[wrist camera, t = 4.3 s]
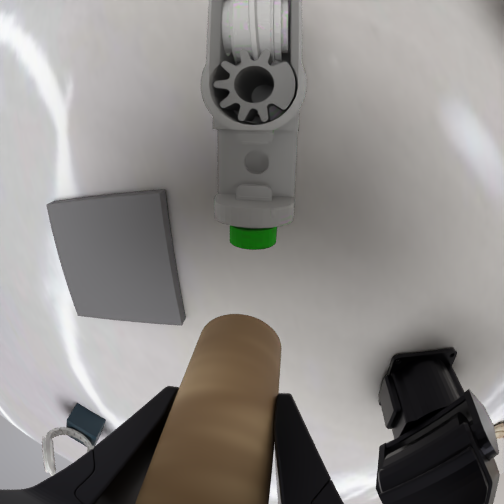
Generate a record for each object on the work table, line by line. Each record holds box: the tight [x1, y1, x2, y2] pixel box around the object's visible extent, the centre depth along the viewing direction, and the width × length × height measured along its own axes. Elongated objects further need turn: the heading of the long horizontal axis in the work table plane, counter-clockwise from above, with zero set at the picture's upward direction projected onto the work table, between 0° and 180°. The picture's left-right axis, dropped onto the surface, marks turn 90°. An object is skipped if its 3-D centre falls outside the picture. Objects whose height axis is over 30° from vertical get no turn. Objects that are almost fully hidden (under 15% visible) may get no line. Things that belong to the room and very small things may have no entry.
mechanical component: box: [201, 0, 307, 250], centre depth 12 cm, size 3×10×10 cm, turn 179°
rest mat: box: [47, 190, 185, 325], centre depth 22 cm, size 10×10×1 cm
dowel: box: [135, 314, 281, 504], centre depth 8 cm, size 3×3×7 cm
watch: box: [42, 403, 106, 476], centre depth 28 cm, size 6×8×11 cm
